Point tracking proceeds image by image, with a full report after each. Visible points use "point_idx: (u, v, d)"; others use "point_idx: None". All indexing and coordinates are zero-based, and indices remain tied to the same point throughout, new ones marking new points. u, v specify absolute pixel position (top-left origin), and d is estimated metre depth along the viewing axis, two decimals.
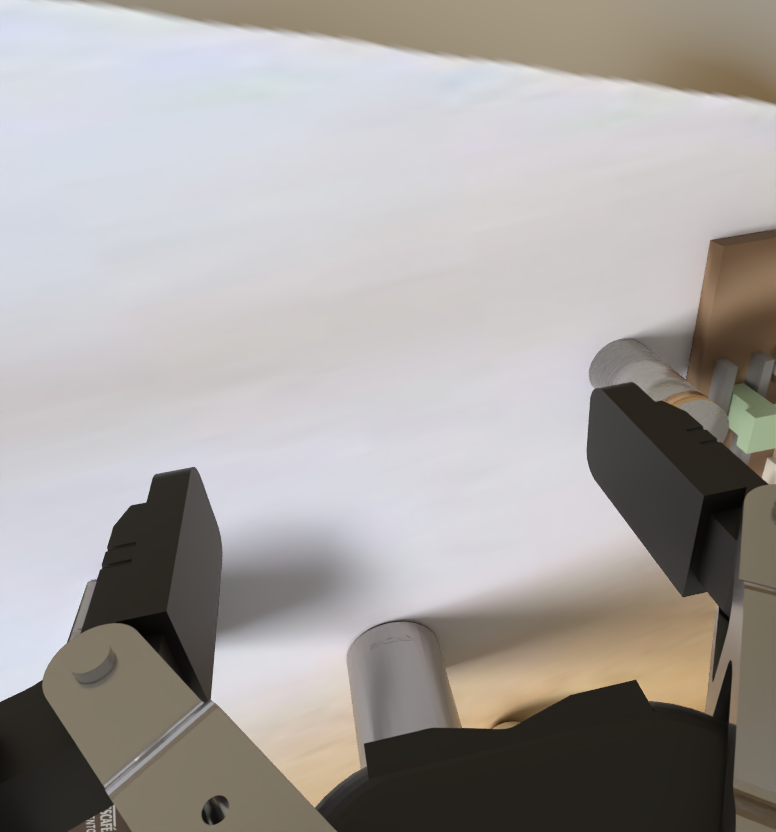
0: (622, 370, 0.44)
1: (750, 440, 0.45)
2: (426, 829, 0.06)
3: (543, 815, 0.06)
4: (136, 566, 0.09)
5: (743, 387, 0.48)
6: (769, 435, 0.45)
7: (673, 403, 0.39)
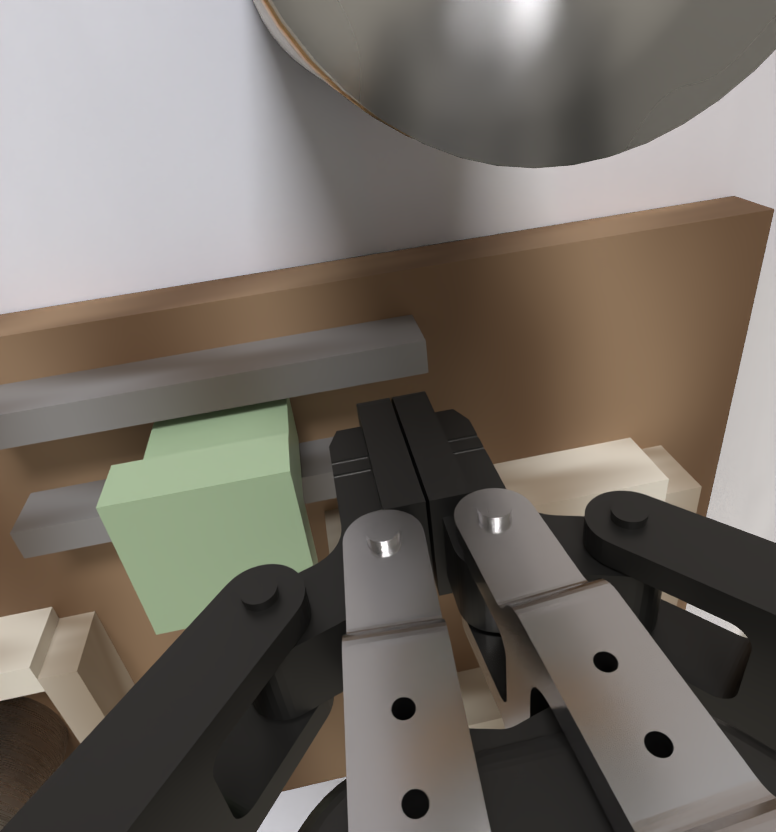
0: None
1: (171, 496, 0.10)
2: None
3: (543, 815, 0.06)
4: (378, 471, 0.10)
5: (296, 437, 0.15)
6: (203, 559, 0.11)
7: None
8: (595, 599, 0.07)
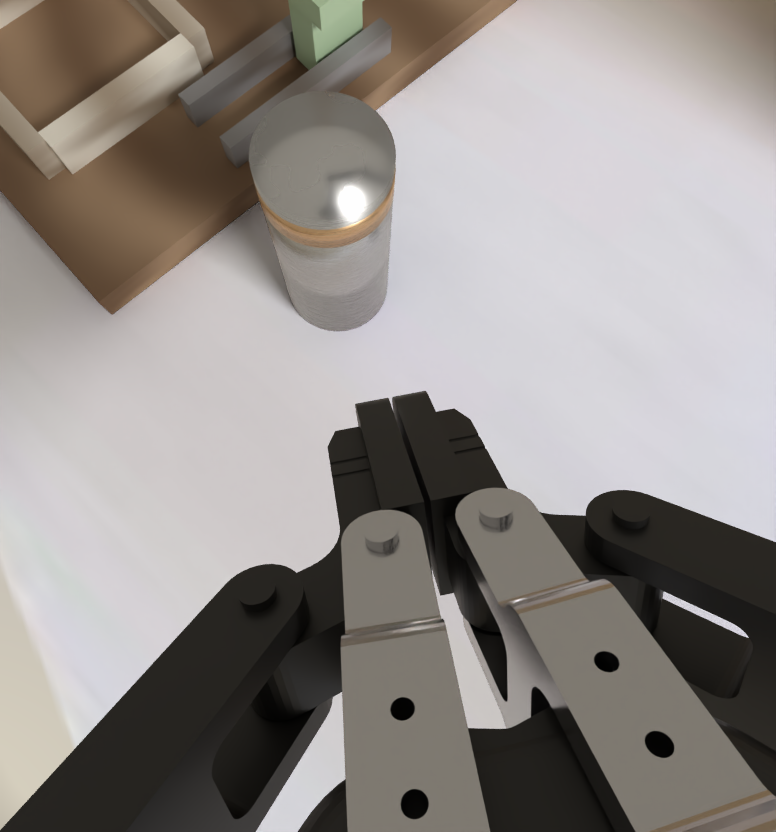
0: (327, 302, 0.26)
1: None
2: None
3: (543, 815, 0.06)
4: (377, 471, 0.10)
5: (300, 54, 0.30)
6: None
7: (297, 232, 0.21)
8: (596, 599, 0.07)
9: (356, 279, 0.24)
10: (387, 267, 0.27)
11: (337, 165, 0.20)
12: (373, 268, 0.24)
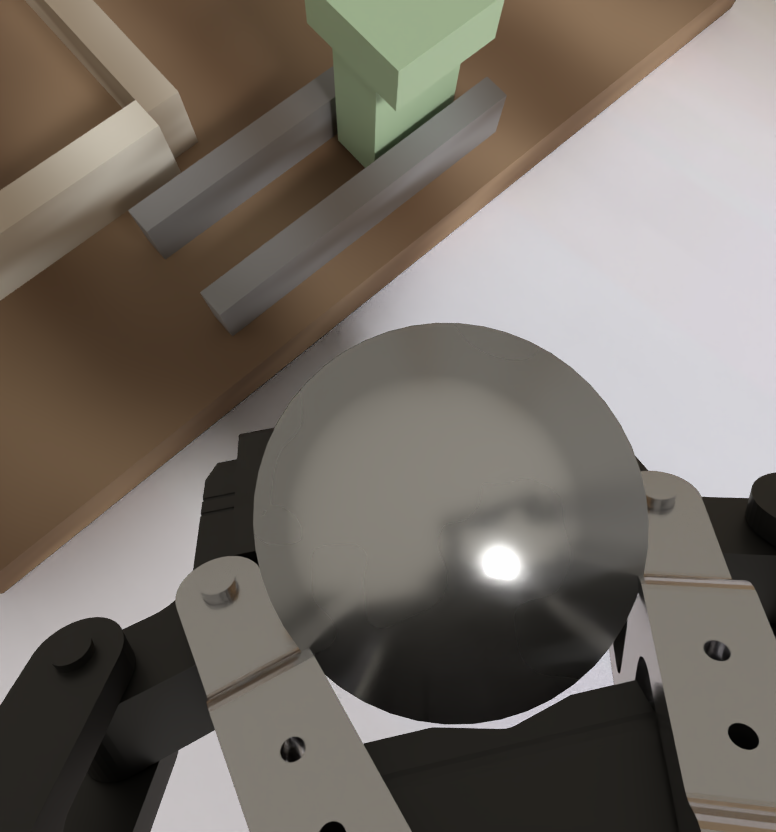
0: None
1: (464, 20, 0.13)
2: (426, 829, 0.06)
3: (543, 815, 0.06)
4: (239, 510, 0.10)
5: (345, 136, 0.17)
6: None
7: None
8: (729, 595, 0.07)
9: None
10: None
11: (494, 546, 0.07)
12: None
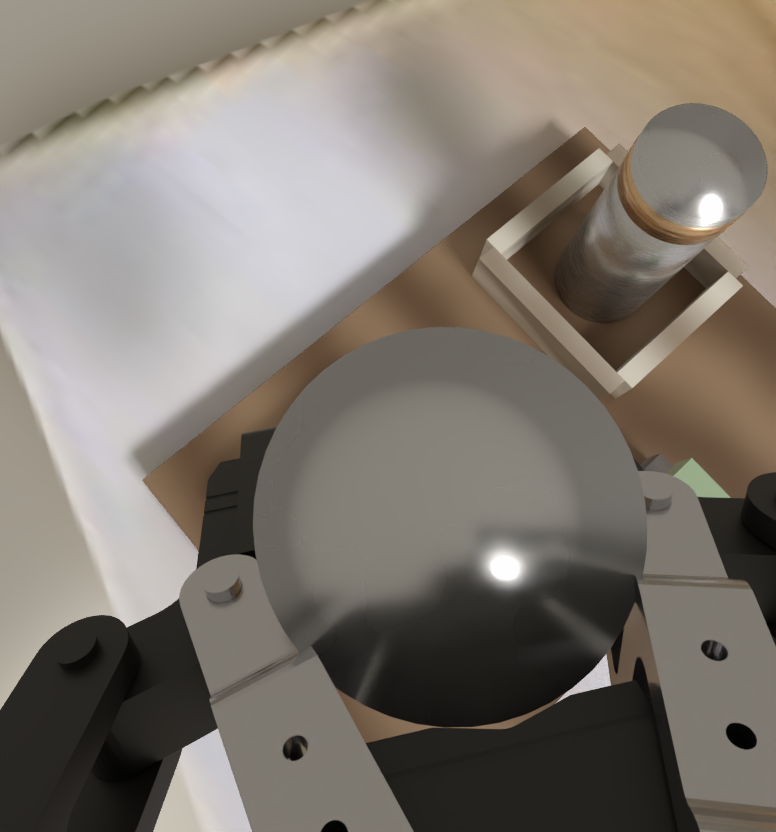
0: None
1: None
2: (426, 829, 0.06)
3: (543, 815, 0.06)
4: (242, 509, 0.10)
5: None
6: None
7: None
8: (726, 594, 0.07)
9: None
10: None
11: (493, 549, 0.07)
12: None
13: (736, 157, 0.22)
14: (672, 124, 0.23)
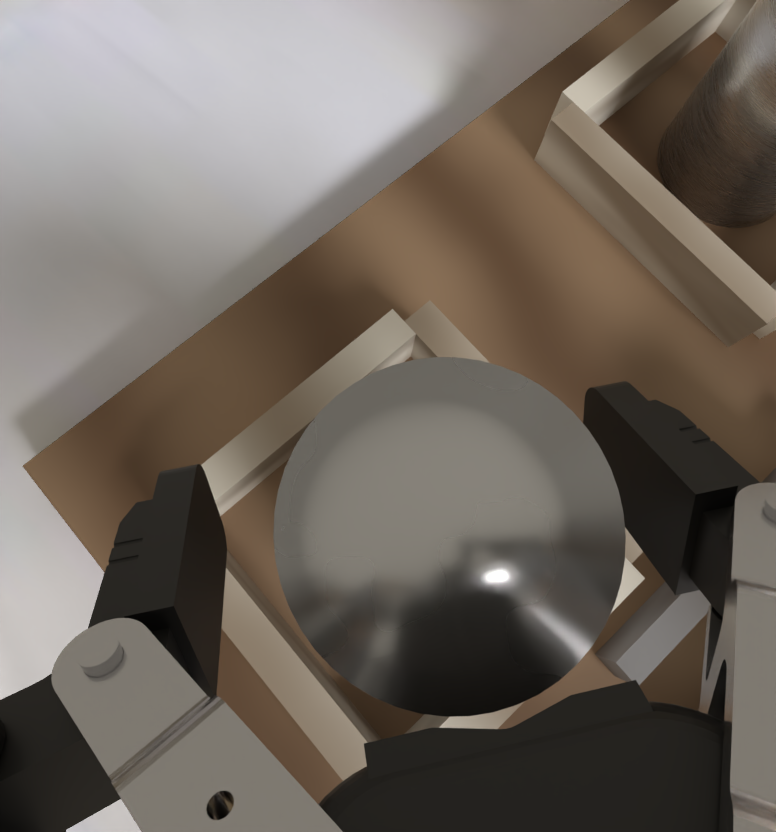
0: None
1: None
2: (426, 829, 0.06)
3: (543, 815, 0.06)
4: (143, 562, 0.09)
5: None
6: None
7: None
8: None
9: None
10: None
11: (488, 558, 0.08)
12: None
13: None
14: None
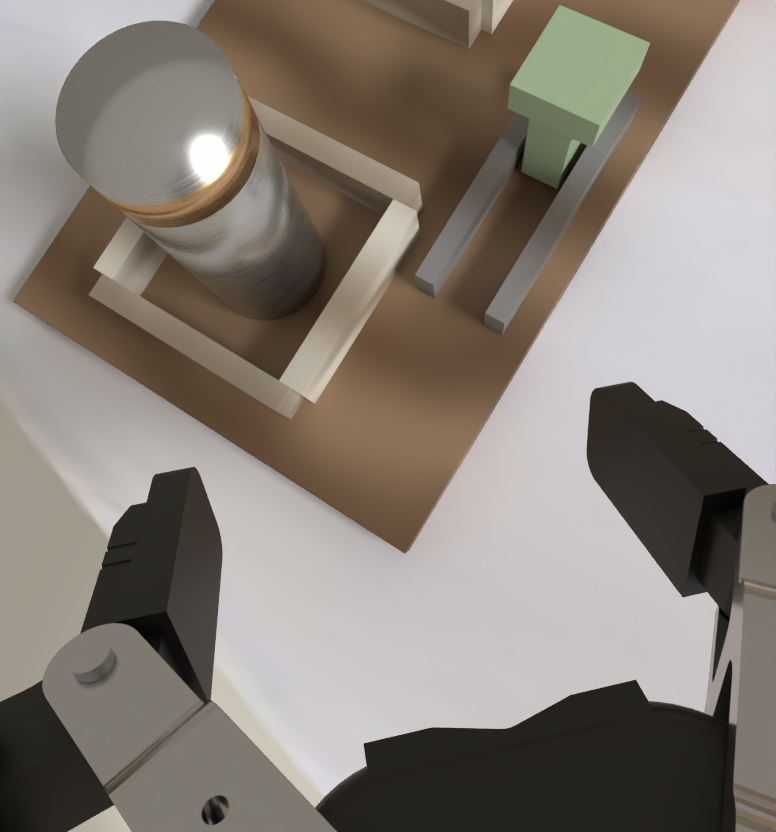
0: (247, 288, 0.22)
1: (629, 73, 0.19)
2: (426, 829, 0.06)
3: (543, 815, 0.06)
4: (136, 566, 0.09)
5: (530, 168, 0.24)
6: (585, 57, 0.20)
7: (149, 214, 0.16)
8: None
9: (264, 250, 0.20)
10: (306, 225, 0.22)
11: (165, 113, 0.15)
12: (279, 230, 0.20)
13: None
14: None
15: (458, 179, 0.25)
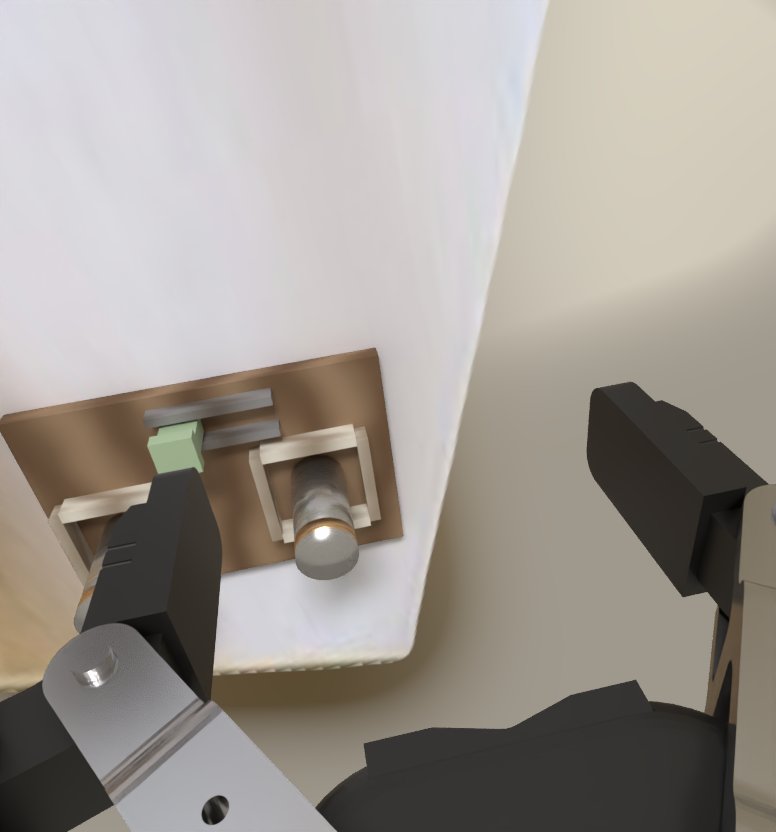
0: (337, 482, 0.51)
1: (164, 443, 0.45)
2: (426, 829, 0.06)
3: (543, 815, 0.06)
4: (136, 566, 0.09)
5: (202, 430, 0.50)
6: (171, 459, 0.46)
7: (351, 531, 0.47)
8: None
9: (325, 492, 0.49)
10: (300, 484, 0.51)
11: (324, 551, 0.46)
12: (315, 493, 0.49)
13: None
14: None
15: (226, 446, 0.52)
